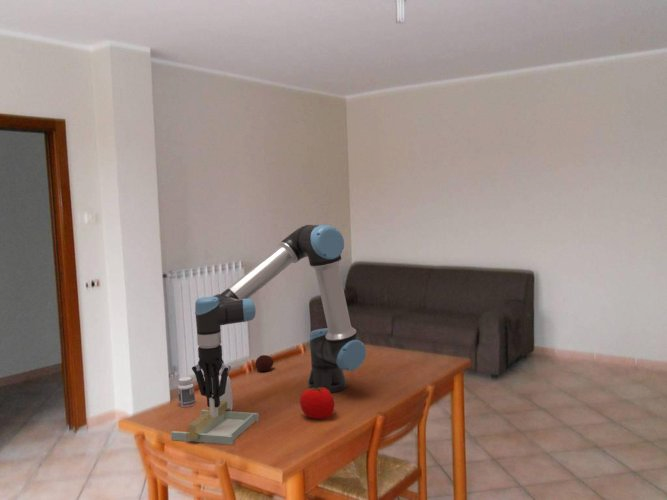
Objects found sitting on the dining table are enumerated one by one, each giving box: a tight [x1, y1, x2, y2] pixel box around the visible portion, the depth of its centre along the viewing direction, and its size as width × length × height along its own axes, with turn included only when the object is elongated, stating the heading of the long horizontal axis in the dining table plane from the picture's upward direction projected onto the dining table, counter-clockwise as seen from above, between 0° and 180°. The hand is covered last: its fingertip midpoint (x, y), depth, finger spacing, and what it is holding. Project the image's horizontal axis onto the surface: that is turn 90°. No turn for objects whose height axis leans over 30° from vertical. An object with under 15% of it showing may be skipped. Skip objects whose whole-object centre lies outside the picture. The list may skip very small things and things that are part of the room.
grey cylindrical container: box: [208, 374, 233, 411], centre depth 208 cm, size 8×8×12 cm
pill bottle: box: [177, 376, 196, 408], centre depth 216 cm, size 6×6×10 cm
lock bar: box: [186, 401, 232, 440], centre depth 191 cm, size 4×23×4 cm, turn 164°
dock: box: [170, 409, 259, 446], centre depth 191 cm, size 21×20×2 cm
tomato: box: [299, 387, 335, 420], centre depth 198 cm, size 11×13×10 cm
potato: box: [255, 354, 274, 372], centre depth 256 cm, size 7×8×7 cm
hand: (214, 416), depth 191 cm, fingers closed
